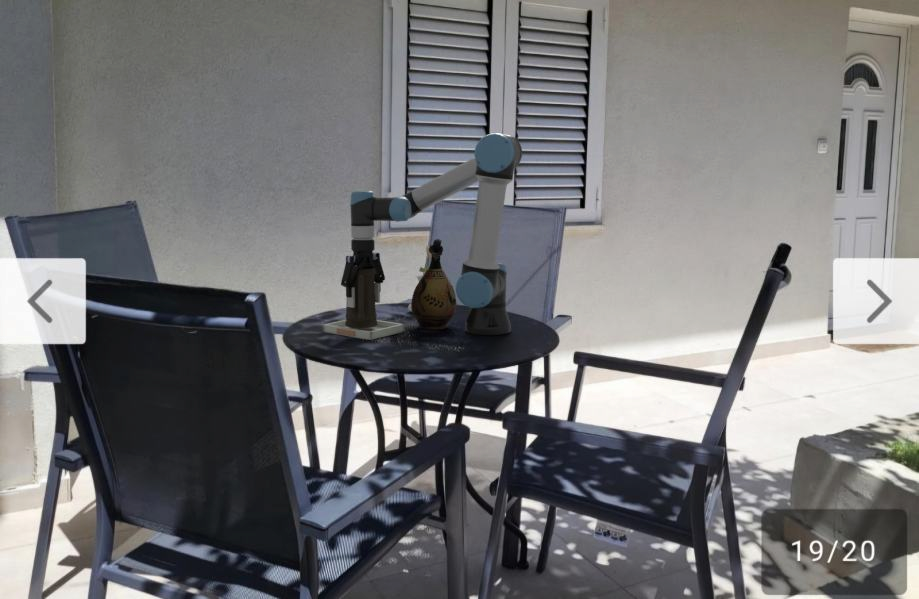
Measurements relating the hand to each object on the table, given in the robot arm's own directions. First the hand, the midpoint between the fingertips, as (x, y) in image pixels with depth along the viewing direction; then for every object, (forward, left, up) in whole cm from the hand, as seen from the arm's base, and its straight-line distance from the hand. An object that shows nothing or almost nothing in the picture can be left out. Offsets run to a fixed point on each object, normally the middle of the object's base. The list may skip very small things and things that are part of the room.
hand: (363, 304), depth 279 cm
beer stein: (+1, 0, -7) cm, 8 cm away
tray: (0, 0, -9) cm, 9 cm away
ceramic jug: (-21, +13, -9) cm, 26 cm away
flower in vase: (-42, -8, -9) cm, 44 cm away
